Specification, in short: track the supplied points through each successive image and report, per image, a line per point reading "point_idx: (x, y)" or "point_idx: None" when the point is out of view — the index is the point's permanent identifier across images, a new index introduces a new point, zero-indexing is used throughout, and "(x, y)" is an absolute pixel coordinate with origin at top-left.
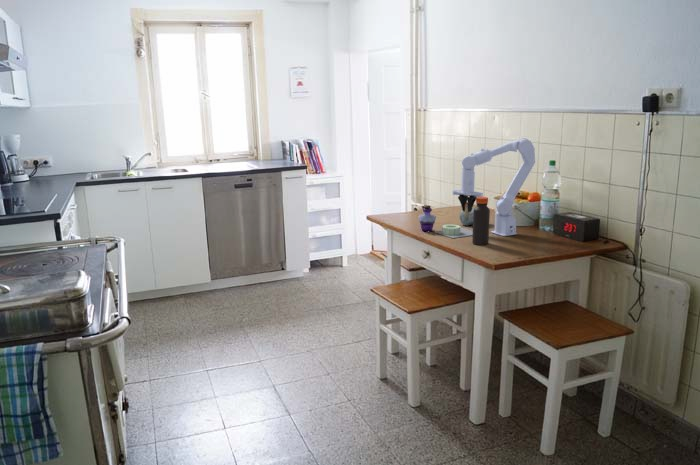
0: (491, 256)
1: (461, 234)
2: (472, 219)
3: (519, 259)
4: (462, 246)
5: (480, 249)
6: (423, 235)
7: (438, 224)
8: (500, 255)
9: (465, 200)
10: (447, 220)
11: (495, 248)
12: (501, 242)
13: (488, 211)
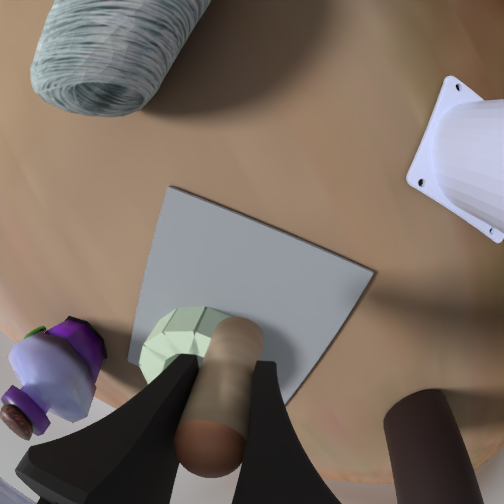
0: None
1: (276, 356)
2: (169, 64)
3: None
4: (361, 459)
5: None
6: None
7: (25, 188)
8: (477, 447)
9: (148, 476)
10: (13, 72)
11: (469, 418)
12: (491, 349)
13: None
